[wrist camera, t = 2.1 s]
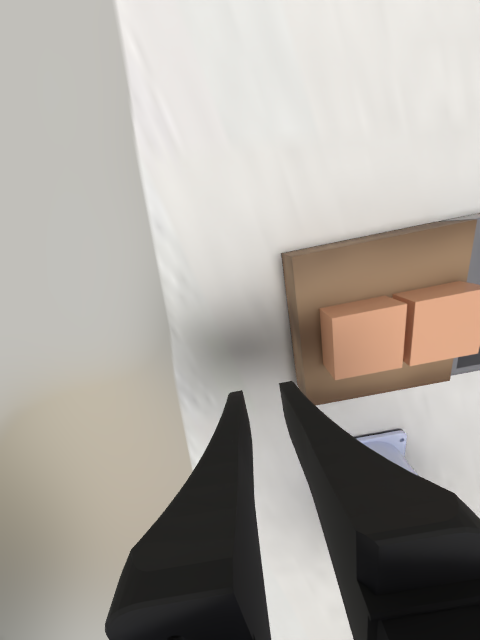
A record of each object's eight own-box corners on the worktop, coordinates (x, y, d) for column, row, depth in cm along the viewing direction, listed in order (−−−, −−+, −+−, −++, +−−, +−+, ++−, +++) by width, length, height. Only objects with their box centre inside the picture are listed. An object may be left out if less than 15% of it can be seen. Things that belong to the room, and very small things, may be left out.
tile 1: (450, 340, 17) (477, 353, 15) (389, 351, 17) (409, 366, 15) (459, 280, 15) (492, 287, 13) (392, 294, 15) (415, 302, 13)
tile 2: (382, 352, 17) (402, 367, 15) (323, 364, 17) (335, 380, 15) (385, 295, 15) (407, 303, 13) (319, 308, 15) (332, 318, 13)
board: (419, 361, 21) (449, 380, 18) (297, 384, 21) (307, 406, 18) (435, 222, 17) (477, 219, 14) (281, 253, 17) (291, 256, 14)
